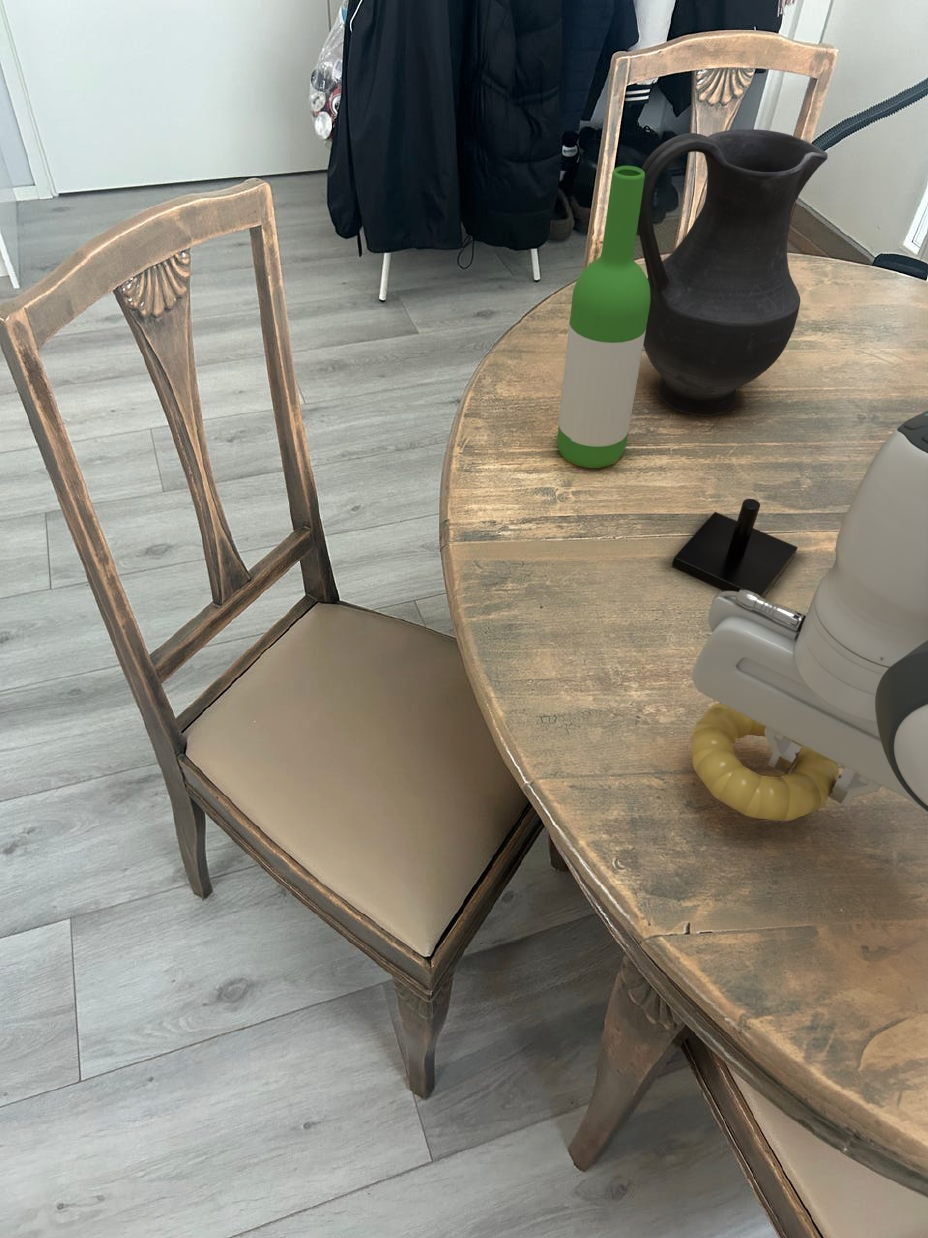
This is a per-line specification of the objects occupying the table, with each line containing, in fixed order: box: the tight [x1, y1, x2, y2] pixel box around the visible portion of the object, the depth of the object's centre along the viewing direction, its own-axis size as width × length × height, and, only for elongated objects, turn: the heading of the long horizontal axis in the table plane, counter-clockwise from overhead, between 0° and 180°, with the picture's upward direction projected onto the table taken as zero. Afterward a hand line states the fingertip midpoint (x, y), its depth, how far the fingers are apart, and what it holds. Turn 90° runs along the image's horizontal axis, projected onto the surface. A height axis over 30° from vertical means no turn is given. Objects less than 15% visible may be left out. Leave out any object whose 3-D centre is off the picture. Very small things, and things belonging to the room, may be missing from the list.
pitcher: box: [637, 128, 828, 417], centre depth 97 cm, size 17×21×30 cm
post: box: [671, 498, 798, 598], centre depth 84 cm, size 9×9×7 cm
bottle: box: [556, 165, 650, 469], centre depth 89 cm, size 8×8×30 cm
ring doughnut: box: [690, 702, 840, 822], centre depth 65 cm, size 10×10×3 cm
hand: (811, 780), depth 63 cm, fingers closed on ring doughnut, 3 cm apart
